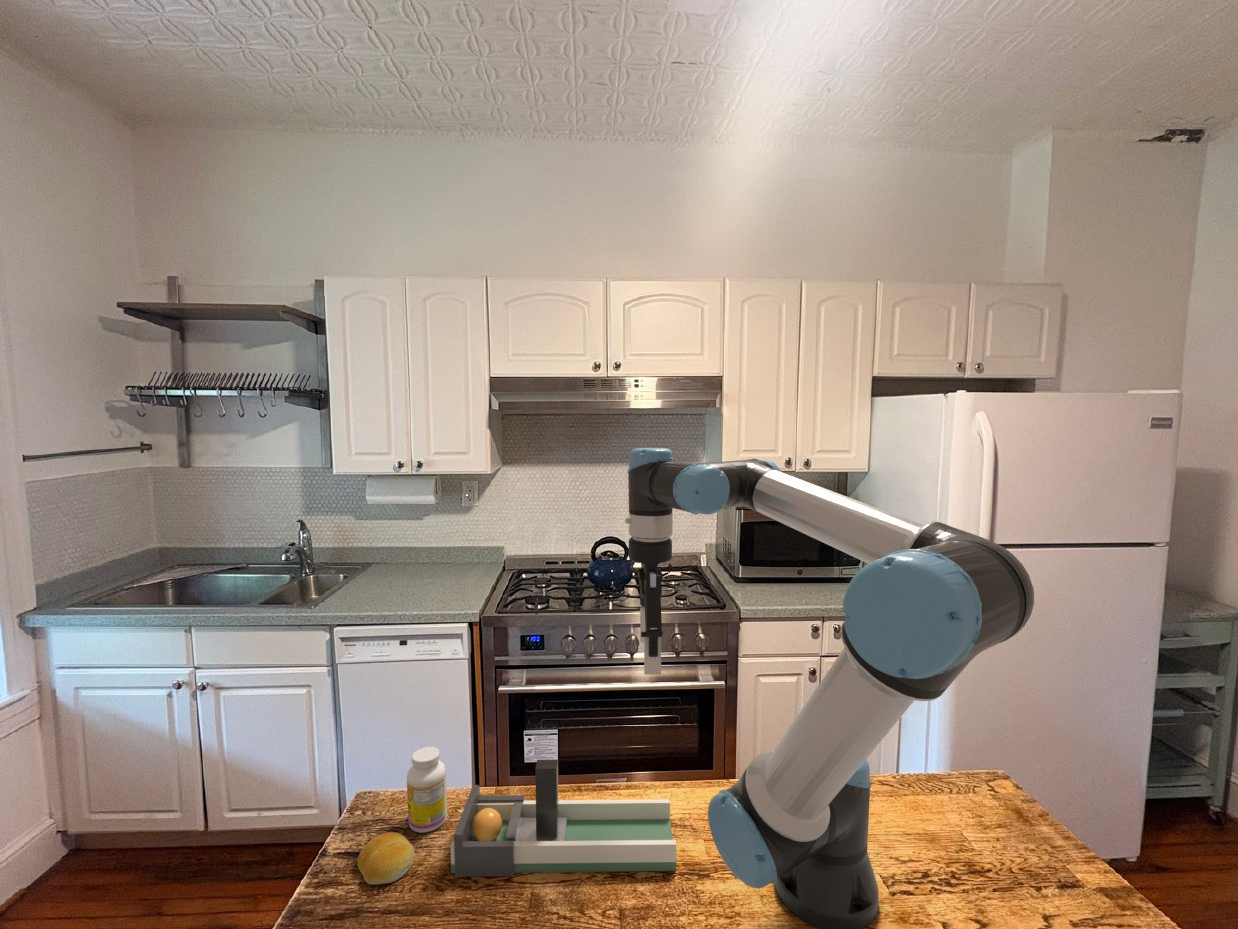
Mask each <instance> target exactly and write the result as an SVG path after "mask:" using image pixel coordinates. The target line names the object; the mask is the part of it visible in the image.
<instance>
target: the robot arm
mask: <svg viewBox="0 0 1238 929" xmlns="http://www.w3.org/2000/svg"><path fill="white" fill-rule="evenodd" d="M628 456H629V457H628V458H629V459H628V468H627V469H628V470H627V474H628V475H627V477H628V486H627V487H628V516H629V517H627V518H625V520H624V523H625V524H627V525H628V524H629V525H628V535H629V536H630V538H629V539H628V559H629V560H630V561H631V562H632V563H633V562H634V563H636V564H637V563H638V564H640V567H639V568H638V571H637V572H638V575H637V576H638V581H639V582H638V583H639V587H640V592H639V599H640V600H639V604H640V609H639V610H640V611H639V612H640V614H639V615H640V618H639V620H640V621H639V622H640V623H639V629H640V630H639V639H640V643H643V646H644V648H643V649H644V650H643V658H644V659H643V662H644V664H643V666H644V667H643V672H644V675H647V676H649V675H662V637H663V635H664V632H663V627H662V625H663V624H662V621H663V620H662V594H663V592H662V591H663V589H662V584H663V572H662V568H659V565H660V564H665V563H669V562H670V561H671V560H672V558H673V540H672V538H670V537H672V536H673V531H674V530H673V522H674V521H673V518H674V517H673V510H674V509H675V510H678V511H679V510H680V511H683V512H686V513H691V514H694V515H698V514H699V515H700V514H701V515H715V514H716V513H718V512H719V511H720V510H721V509H723V508H729V507H738V506H739V507H740V506H741V507H746V508H748V509H749V510H753V511H754V512H757V513H758V514H761V515H763V516H765V517H768V518H770V519H772V520H774V521H777V522H779V523H780V524H783V525H785V526H787V527H789V528H792V529H794V530H796V531H798V532H800V533H802V534H804V535H806V536H807V537H810V538H813V539H815V540H816V541H819V542H821V543H824V544H825V545H828V546H830V547H832V548H834V549H835V550H838V551H841V552H843V553H845V554H847V555H849V556H850V557H853V558H855V559H857V560H860V561H862V562H864V563H866V565H864V567H862V568H861V569H860V570H858V572H857V573H855V575H854V576H853V577H852V578H851V580H850V582H849V583H848V586H847V588H846V589H845V593H844V597H843V600H842V612H843V614H845V619H844V621H843V622H842V624H841V628H840V638H841V641H842V644H843V649H842V650H841V651H840V653H839V654H838V655H837V657H836V659H835V660H834V662H833V663H832V665H831V666H830V667H829V669H828V670H827V672H826V674H825V675H824V676H823V678H822V680H820V682H819V683H818V685H817V686H816V688H815V689H814V691H813V692H812V693H811V694H810V697H809V699H808V700H807V701H806V703H805V704H804V705H803V707H802V708H801V710H800V711H799V713H798V714H797V716H796V717H795V719H794V720H793V721H792V723H791V724H790V726H789V728H788V729H787V730H786V731H785V733H784V735H783V736H782V737H781V739H780V741H779V742H778V744H777V745H776V746H775V748H774V750H773V751H770V752H768V751H767V752H763V753H760V754H758V755H756V757H754V758H753V759H752V761H750V762H749V764H748V765H747V767H746V769H745V770H744V772H743V774H741V776H740V778H739V779H738V780H737V781H736V783H734V784H732V786H730V787H728V788H727V789H724V788H723V789H721V790H719V792H718V793H717V794H715V795H714V796H712V797H711V799H710V801H709V803H708V806H707V807H708V808H707V820H708V821H707V823H708V826H709V828H710V829H709V830H710V833H711V837H712V840H713V842H714V845H715V847H716V849H717V852H718V853H719V855H720V857H721V859H722V860H723V862H724V865H726V867H727V868H728V869H729V871H730V872H731V874H733V875H734V877H735V878H736V879H738V881H740V882H742V883H743V884H744V885H746V886H748V887H750V888H752V889H761V888H764V887H767V886H768V885H771V884H772V885H773V884H774V888H775V891H776V893H777V895H778V897H779V899H780V900H781V902H782V903H783V904H784V905H785V907H786V908H787V909H788V910H789V911H791V913H792V914H794V916H796V917H797V918H799V919H800V920H802V921H804V922H805V923H808V924H810V925H811V926H814V927H816V928H819V929H864V928H867V927H868V926H870V925H871V924H872V923H873V921H874V920H875V919H876V916H877V914H878V911H879V894H880V893H879V892H880V891H879V886H878V882H877V880H876V876H875V873H874V869H873V865H872V862H871V860H870V856H869V852H868V838H869V819H870V818H869V817H870V815H869V814H870V796H871V795H870V794H871V786H872V781H871V778H870V777H871V776H870V775H871V774H870V773H871V772H870V770H871V769H870V763H869V761H868V758H869V756H870V755H871V754H872V753H873V752H874V750H875V749H876V748H877V747H878V746H879V744H880V743H881V742H882V741H883V739H885V737H886V736H887V735H888V734H889V732H890V731H891V729H893V727H894V726H895V725H896V724H897V723H898V721H899V720H900V719H901V718H902V716H903V715H904V714H905V713H906V712H907V711H908V709H909V708H910V707H911V705H913V703H914V702H915V701H917V702H918V701H919V702H930V701H934V700H937V699H939V698H940V697H941V696H942V695H943V694H944V693H945V692H946V691H947V689H948V688H949V687H950V686H951V685H952V683H953V682H954V681H955V680H956V679H957V678H958V677H959V675H960V674H961V673H962V672H963V671H964V670H965V668H966V667H967V666H968V665H969V663H971V662H972V661H973V659H974V658H976V657H977V656H978V655H980V653H982V652H984V651H986V650H988V649H991V648H993V647H994V646H996V645H998V644H1001V643H1003V642H1005V641H1008V640H1009V639H1012V638H1013V637H1014V636H1016V635H1017V634H1019V632H1020V631H1021V630H1022V629H1023V628H1024V627H1025V626H1026V624H1027V623H1028V621H1029V619H1030V618H1031V616H1032V613H1033V609H1034V605H1035V590H1034V589H1035V588H1034V585H1033V582H1032V580H1031V577H1030V574H1029V572H1028V571H1027V569H1026V568H1025V566H1024V565H1023V563H1022V562H1021V561H1020V560H1019V559H1018V557H1016V556H1015V555H1014V554H1013V552H1012V553H1011V551H1010V550H1008V549H1007V548H1005V547H1003V546H1002V545H1000V544H998V543H997V542H994V541H992V540H990V539H987V538H985V537H982V536H980V535H977V534H974V533H972V532H968V531H965V530H963V529H959V528H957V527H954V526H951V525H949V524H945V523H943V522H939V521H937V520H936V521H935V520H934V521H930V522H928V523H926V524H922V523H919V522H917V521H914V520H912V519H908V518H906V517H903V516H901V515H898V514H895V513H892V512H890V511H886V510H884V509H881V508H879V507H876V506H874V505H870V504H868V503H865V502H864V501H863V502H862V501H860V500H857V499H855V498H852V497H849V496H846V495H843V494H841V493H839V492H835V491H833V490H830V489H827V488H825V487H822V486H820V485H817V484H814V483H811V482H808V481H806V480H803V479H801V478H798V477H796V476H792V475H790V474H787V473H784V472H782V471H781V469H780V468H779V467H778V465H777V464H776V463H775V462H774V461H771V460H768V459H759V458H751V459H750V458H748V459H741V460H740V459H739V460H727V461H725V460H724V461H711V462H710V461H707V462H706V461H705V462H693V463H692V462H691V463H690V462H674V457H673V451H672V450H671V449H670V448H666V447H637V448H633V449H632V450H631V451H630V453H629V455H628Z"/></svg>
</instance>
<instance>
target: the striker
mask: <svg viewBox="0 0 1238 929" xmlns="http://www.w3.org/2000/svg"><path fill="white" fill-rule="evenodd" d="M536 760H537V761H536V764H535V776H534V777H535V778H534V779H535V780H534V781H535V800H536V818H523V802H514V805H513V809H512V813H511V817H510V821H509V825H508V829H507V833H506V841H565V836H566V827H567V817H558V800H559V759H536Z"/></svg>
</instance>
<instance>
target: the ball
mask: <svg viewBox="0 0 1238 929" xmlns="http://www.w3.org/2000/svg"><path fill="white" fill-rule="evenodd" d="M501 828H502V819H501V816H500V814H499V813H498V812H497V811H496V810H495V809H492V808H485V809H482V810H481V811H479V812H478V813H477V814H476V816H475V817H474V819H473V822H472V833H473V835H474V837H475V838H476V839H477V840H478V841H493V840H494V839H495V838H496V837H497V836H498V835H499V833H500V831H501Z"/></svg>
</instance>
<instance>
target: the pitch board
mask: <svg viewBox="0 0 1238 929" xmlns="http://www.w3.org/2000/svg"><path fill="white" fill-rule="evenodd" d="M513 805H514V802H509V803H478V812H479V811H481V810H482V809H485V808H492V809H495V810H496V811H497V812H498V813H499V814H500V816H501V819H502V828H501V831H500V833H499V835H498V836H497V837H496V838H495V839H494V840H493V841H506V833H507V829H508V825H509V821H510V817H511V813H512V809H513ZM558 817H567V827H566V836H565V841H514V846H513V849H514V873H567V872H568V873H592V872H594V873H596V872H597V873H598V872H605V873H606V872H607V873H608V872H611V873H613V872H676V871H677V840H676V839H674V838H673V831H672V824H671V801H670V799H668V798H667V799H665V798H662V799H658V798H655V799H568V800H567V799H558ZM523 818H536V799H535V800H533V799H532V800H530V799H529V800H526V799H525V801H524V802H523ZM471 841H478V840H477V839H476V838H475V837H474V835H473V837H472V840H471ZM450 870H451V871H450V872H451V873H450V874H455V854H454V841H452V842H451V844H450Z"/></svg>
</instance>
